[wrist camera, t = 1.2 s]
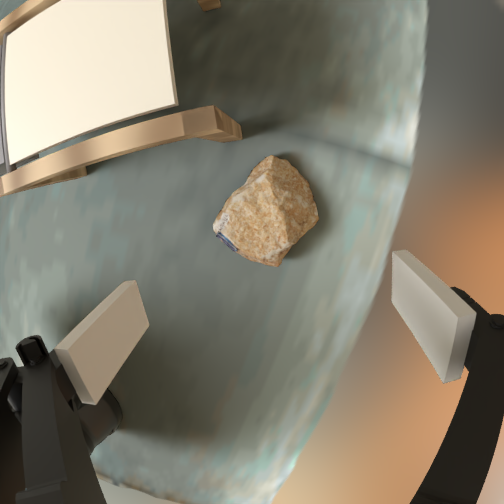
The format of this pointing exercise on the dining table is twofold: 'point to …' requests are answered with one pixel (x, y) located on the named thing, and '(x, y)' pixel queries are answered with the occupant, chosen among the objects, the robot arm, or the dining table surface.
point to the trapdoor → (81, 73)
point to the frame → (116, 142)
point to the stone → (267, 213)
